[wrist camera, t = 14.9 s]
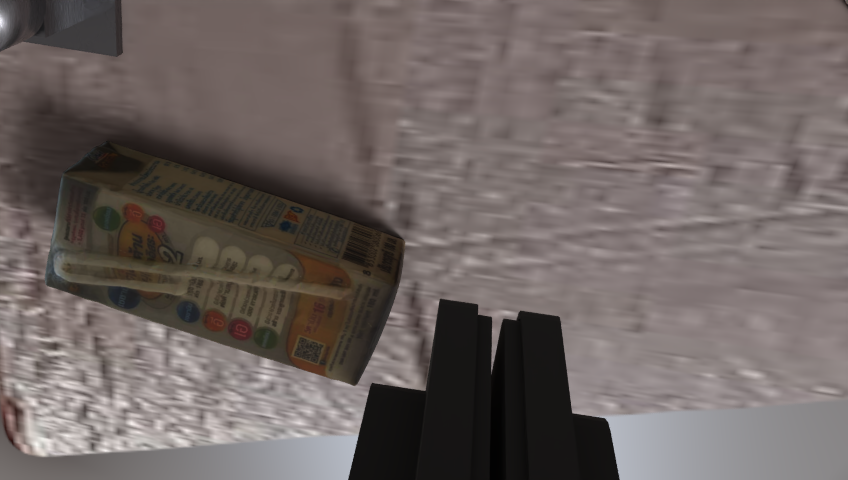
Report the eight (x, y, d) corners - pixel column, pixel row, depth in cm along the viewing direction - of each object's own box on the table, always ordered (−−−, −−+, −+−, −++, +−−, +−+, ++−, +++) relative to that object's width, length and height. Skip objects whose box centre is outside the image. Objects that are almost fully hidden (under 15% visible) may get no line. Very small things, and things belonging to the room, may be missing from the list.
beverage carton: (104, 128, 45) (49, 171, 39) (413, 233, 47) (406, 288, 41) (85, 241, 49) (33, 296, 43) (374, 334, 51) (362, 398, 45)
